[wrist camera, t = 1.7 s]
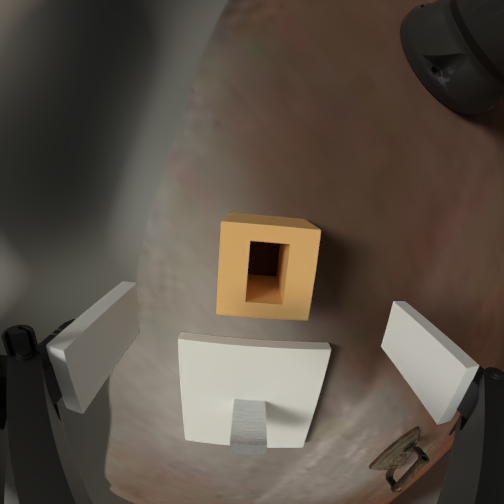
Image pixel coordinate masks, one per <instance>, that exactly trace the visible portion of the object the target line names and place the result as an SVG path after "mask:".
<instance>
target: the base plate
mask: <svg viewBox="0 0 504 504" xmlns="http://www.w3.org/2000/svg"><path fill="white" fill-rule="evenodd" d="M178 351H179V370H180V386H181V399H182V411H183V422H184V431H185V440H190V441H197V442H204V443H212V444H221V445H230V436H231V425H232V415H233V404H234V399H242V400H257V401H265V406H266V430H267V447H269V448H298V447H303V445H304V442H305V439H306V436H307V433H308V430H309V427H310V424H311V421H312V418H313V414H314V411H315V408H316V405H317V401H318V398H319V394H320V391H321V387H322V384H323V380H324V376H325V373H326V369H327V365H328V361H329V357H330V353H331V348H330V345H329V343H328V342H293V341H273V340H257V339H244V338H232V337H222V336H212V335H203V334H194V333H186V332H181V333H180V336H179V338H178Z"/></svg>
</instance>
